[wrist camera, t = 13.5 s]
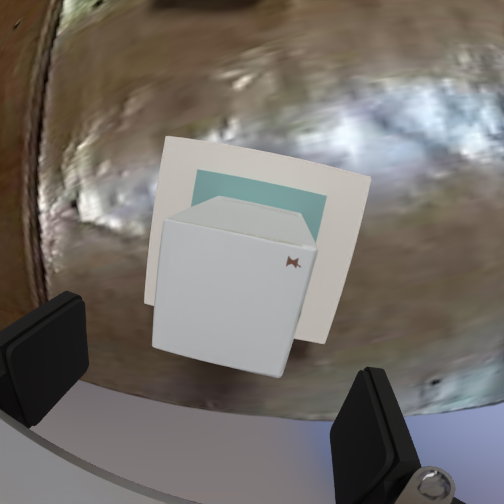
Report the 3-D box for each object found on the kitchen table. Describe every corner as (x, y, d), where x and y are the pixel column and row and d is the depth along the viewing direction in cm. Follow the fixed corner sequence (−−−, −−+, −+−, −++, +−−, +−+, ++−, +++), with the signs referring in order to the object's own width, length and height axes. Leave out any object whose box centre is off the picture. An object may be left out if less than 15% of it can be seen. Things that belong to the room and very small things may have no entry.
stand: (357, 176, 29) (372, 177, 24) (319, 321, 33) (324, 345, 28) (182, 140, 30) (164, 135, 25) (161, 286, 34) (142, 304, 29)
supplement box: (216, 193, 26) (161, 211, 14) (303, 212, 26) (325, 247, 13) (201, 275, 28) (147, 348, 15) (283, 294, 27) (283, 382, 15)
